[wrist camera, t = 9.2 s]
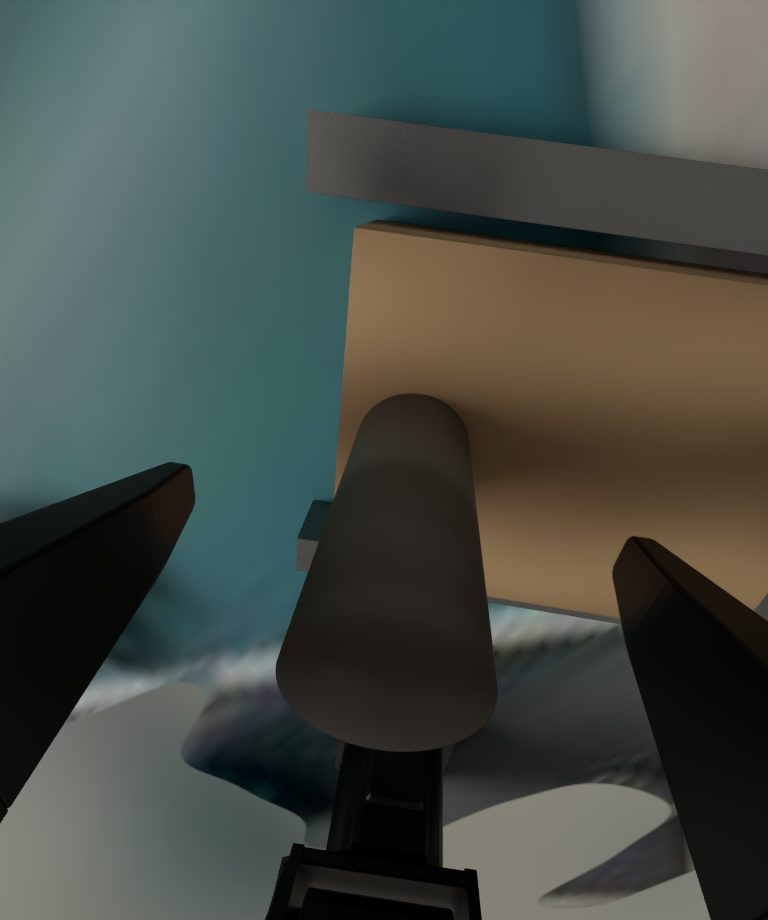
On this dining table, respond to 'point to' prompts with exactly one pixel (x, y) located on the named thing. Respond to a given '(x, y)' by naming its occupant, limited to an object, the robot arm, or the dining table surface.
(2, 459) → the dining table surface
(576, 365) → the tan drawer with knob
